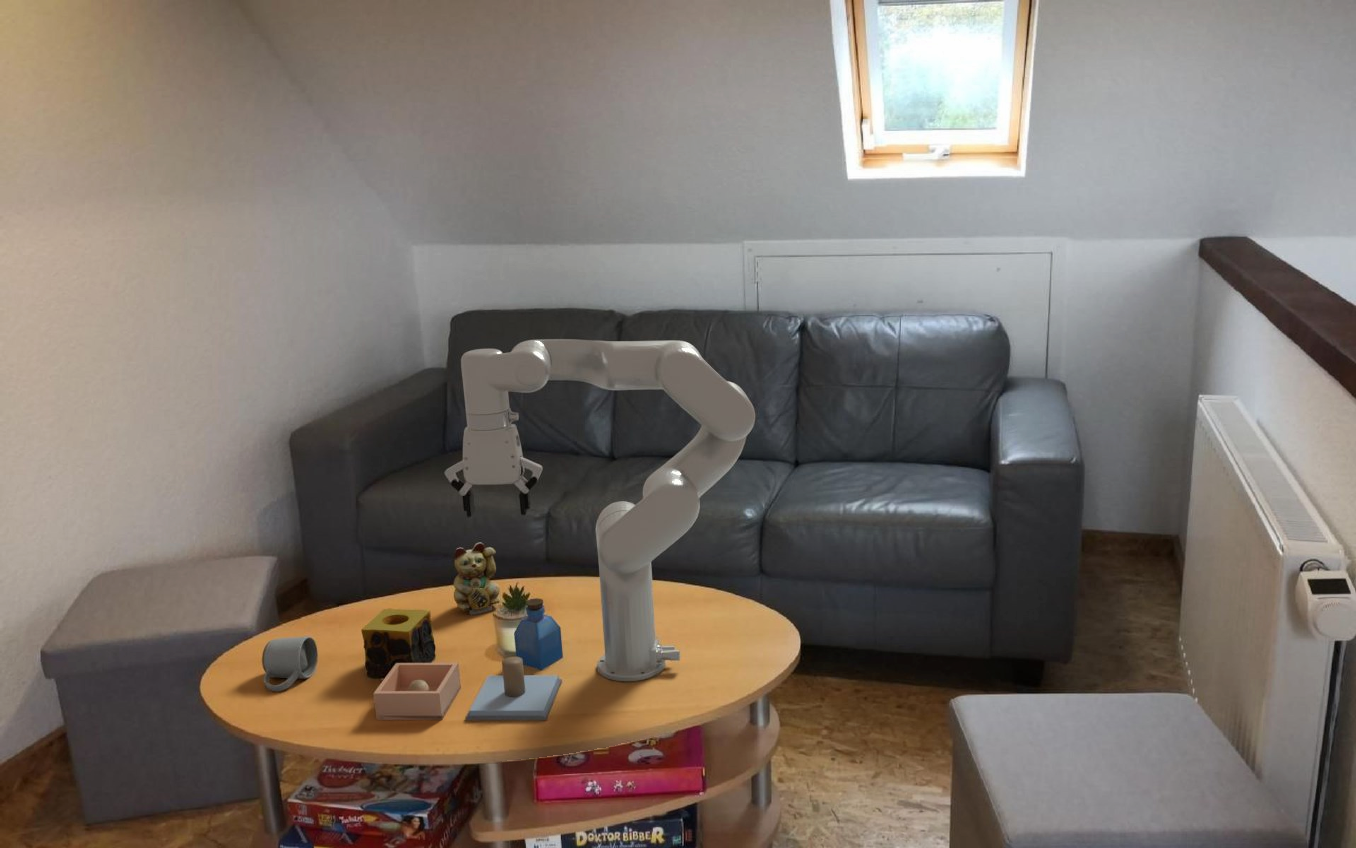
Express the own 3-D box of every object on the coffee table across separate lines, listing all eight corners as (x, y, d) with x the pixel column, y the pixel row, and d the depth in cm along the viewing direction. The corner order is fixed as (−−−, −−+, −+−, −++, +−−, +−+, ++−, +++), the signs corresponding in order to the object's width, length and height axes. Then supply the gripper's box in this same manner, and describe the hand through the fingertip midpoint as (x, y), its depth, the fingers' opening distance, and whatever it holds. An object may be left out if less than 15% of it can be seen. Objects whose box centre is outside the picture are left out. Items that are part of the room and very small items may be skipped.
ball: (432, 694, 200) (430, 676, 199) (426, 704, 197) (424, 685, 196) (412, 694, 201) (410, 676, 200) (406, 704, 197) (404, 685, 196)
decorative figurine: (461, 620, 234) (454, 552, 230) (449, 607, 241) (442, 541, 237) (505, 609, 238) (499, 542, 235) (492, 596, 245) (485, 531, 242)
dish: (461, 688, 204) (458, 662, 203) (442, 720, 193) (439, 693, 192) (399, 688, 205) (396, 663, 204) (376, 719, 194) (373, 693, 193)
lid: (558, 680, 204) (556, 644, 202) (544, 716, 191) (540, 678, 189) (488, 680, 205) (485, 645, 203) (469, 715, 192) (465, 678, 191)
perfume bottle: (562, 657, 214) (558, 598, 211) (541, 670, 209) (536, 610, 206) (538, 650, 218) (533, 593, 215) (516, 663, 213) (511, 604, 210)
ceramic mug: (280, 666, 217) (274, 629, 215) (320, 666, 216) (315, 629, 214) (254, 693, 207) (248, 655, 205) (296, 693, 206) (290, 655, 204)
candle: (415, 682, 207) (409, 632, 205) (365, 679, 210) (359, 630, 207) (437, 657, 217) (432, 609, 215) (389, 655, 219) (383, 607, 217)
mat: (561, 682, 204) (561, 679, 204) (546, 720, 191) (545, 717, 191) (486, 682, 206) (486, 679, 206) (465, 720, 192) (465, 717, 192)
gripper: (541, 413, 198) (549, 505, 203) (445, 417, 200) (455, 508, 204) (534, 423, 191) (542, 519, 195) (434, 427, 192) (444, 522, 196)
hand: (497, 513), depth 199 cm, fingers open, 9 cm apart
